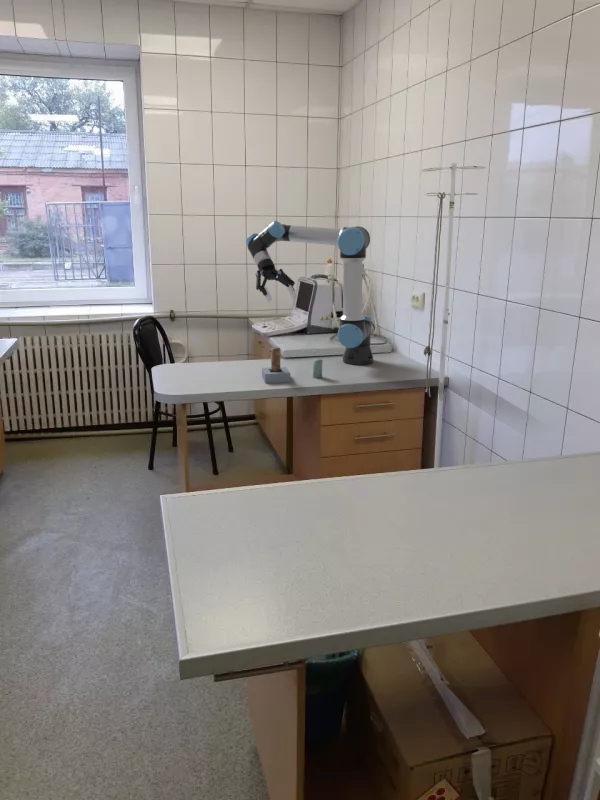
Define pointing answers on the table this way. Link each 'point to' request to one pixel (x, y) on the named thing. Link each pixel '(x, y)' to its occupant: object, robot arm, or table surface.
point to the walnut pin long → (275, 359)
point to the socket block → (276, 375)
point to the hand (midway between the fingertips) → (282, 299)
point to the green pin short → (317, 368)
